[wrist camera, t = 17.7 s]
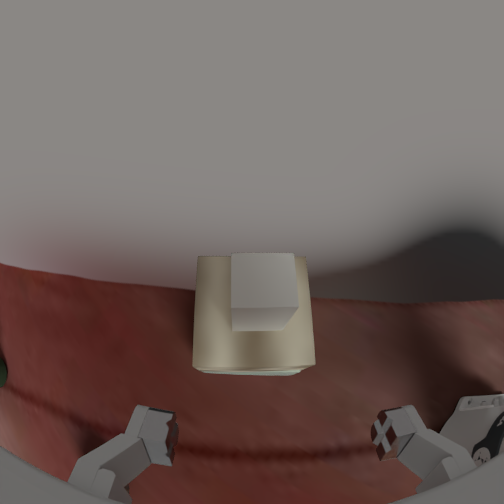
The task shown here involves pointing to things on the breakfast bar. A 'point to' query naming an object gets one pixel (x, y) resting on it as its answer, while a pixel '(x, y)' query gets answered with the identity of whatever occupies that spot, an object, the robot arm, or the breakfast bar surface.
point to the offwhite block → (263, 291)
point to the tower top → (247, 342)
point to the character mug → (2, 373)
